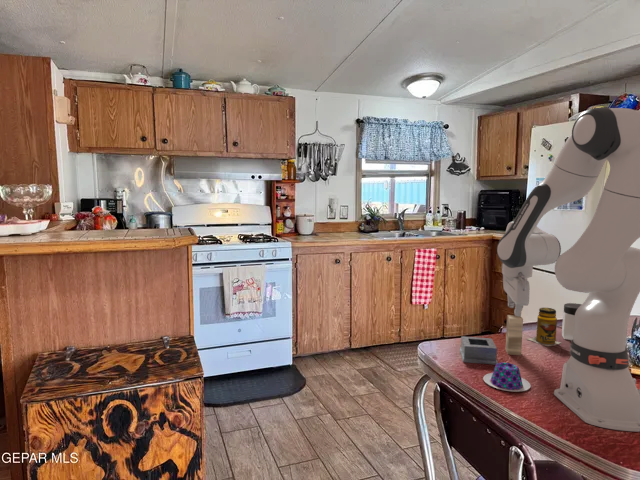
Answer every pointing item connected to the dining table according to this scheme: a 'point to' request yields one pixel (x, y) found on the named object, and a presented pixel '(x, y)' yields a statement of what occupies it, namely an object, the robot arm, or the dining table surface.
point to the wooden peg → (514, 335)
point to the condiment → (546, 327)
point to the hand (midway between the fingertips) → (514, 311)
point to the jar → (569, 320)
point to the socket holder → (478, 350)
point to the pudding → (506, 378)
